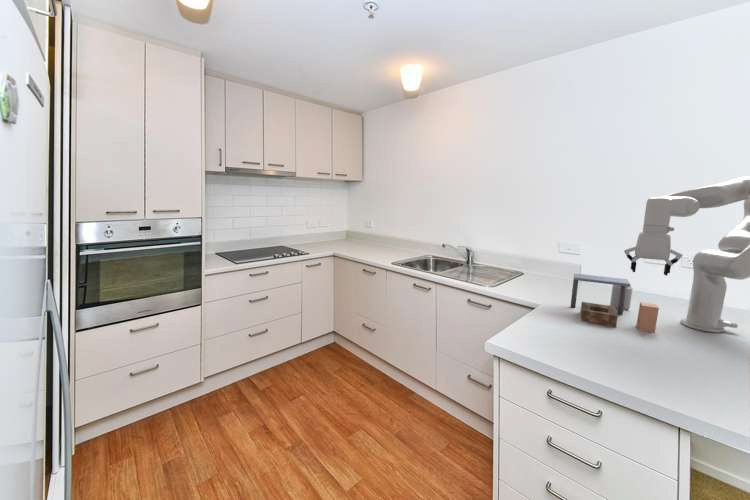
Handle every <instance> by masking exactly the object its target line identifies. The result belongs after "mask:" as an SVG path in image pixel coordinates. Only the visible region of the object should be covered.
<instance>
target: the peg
mask: <svg viewBox="0 0 750 500" xmlns="http://www.w3.org/2000/svg"><path fill="white" fill-rule="evenodd" d="M638 308H639V309H638V314H637V320H636V327H637V329H638V331H639V330H640V331H645V332H650V333H656V328H657V321H658V315H659V310H660V308H659V306H658V304H657V303H650V302H643V301H639V307H638Z"/></svg>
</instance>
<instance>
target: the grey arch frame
mask: <svg viewBox="0 0 750 500" xmlns="http://www.w3.org/2000/svg"><path fill="white" fill-rule="evenodd" d="M579 281H581V282H587V283H596V284H602V285H603V284H604V285H612V286H613V285H620V286H621V288H620V296H619V303H618V309H616V312H617V315H618V316H623V315H624V310H623V308H624V301H625V294H626V287H627V286H628V287H630V284H631V283H630V281H629V280H628V279H627V278H619V277H611V276H602V275H601V276H600V275H592V274H582V273H576V272H575V273H573V280H572V289H571V290H572V292H571V300H570V305H569V306H570V308H571V309H575V308H576V306H577V297H578V296H577V295H578V288H579Z"/></svg>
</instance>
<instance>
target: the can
mask: <svg viewBox="0 0 750 500" xmlns="http://www.w3.org/2000/svg"><path fill="white" fill-rule="evenodd" d="M620 288H621V286H620V285H612V289H611V295H610V296H611V297H610V302H609V306H614V307H615V310H618V303H619V296H620ZM633 289H634V288H633V287H632V284H631V283H630V287H628V286H627V287H626V294H625V301H624V308H623V311H626V310H629V309H630V308H631V303H632V297H633V296H632V294H633Z"/></svg>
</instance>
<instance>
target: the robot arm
mask: <svg viewBox="0 0 750 500" xmlns="http://www.w3.org/2000/svg"><path fill="white" fill-rule="evenodd" d="M741 201H743V219H742V220H741V222H740V223H738V224H737V225H736V226H735V227H734V228H733V229H731V230H730V231H729V232H728V233H727V234H725V235H724V236H723V237H722V238H721V239H720V240H719V242H718V244H717V246H718V250H717V249H704V250H700V251H699V252H697V253H695V255H694V256H693V259H692V269H693V276H692V277H693V278H692V285H691V290H690V295H689V296H690V297H689V302H688V306H687V312H686V317H684V318H681V319H680V323H681V324H682V325H683V326H685V327H688V328H691V329H693V330H698V331H700V332H701V331H702V332H706V333H707V332H709V333H718V334H719V333H723V332H724V331H725V328H726V327H727V328H732V329H737V328H738V326H739V325H738V323H737V322H731V321H729V320H724V319H723V318H722V313H723V309H724V303H725V298H726V297H725V296H726V293H727V282H726V279H725V278H728V279H731V280H736V281H739V280H740V281H742V280H747V279H748V278H750V176H742V177H738V178H734V179H731V180H728V181H724V182H720V183H717V184H712V185H708V186H703V187H698V188H694V189H688V190H682V191H677V192H674V193H669V194H666V195H663V196H660V197H649V198H647V200H646V204H645V209H644V210H645V211H644V218H643V226H642V232H639V234H638V237H637V241H636V244H635V246H633V247H630V248H627V249H624V250H623V252H624V254H625V256H626V258H627V260H629V261H630V262H631V263H630V270H632V271H631V272H632V273H635V272H636V267H637V261H638V260H640V259H646V260H647V259H648V260H657V261H658V260H659V261H664V262H666V263H665V264H664V270H663V275H664V276H667V277H668V274H670V273H671V267H672V266H673V265H674V264H676V263H677V262H679V261H680V259H681V258H682V257H683V254H682V253H680V252H678V251H676V250H673V249H672V248H671V244H672V243H671V242H672V241H671V234H670V233H669V232H674V231H675V228H674V227H671V226H670V224H671V223H670V221H671V217H678V218H688V217H692V216H694V215H696V214H697V213H698V212H699V210H700V209H713V208H720V207H724V206H727V205H730V204H734V203H737V202H741ZM631 252H634V256H632V255H631V254H630V253H631ZM671 254H673V255H674V256H675V257H674V258H673V259H671V260H670V256H671Z"/></svg>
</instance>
